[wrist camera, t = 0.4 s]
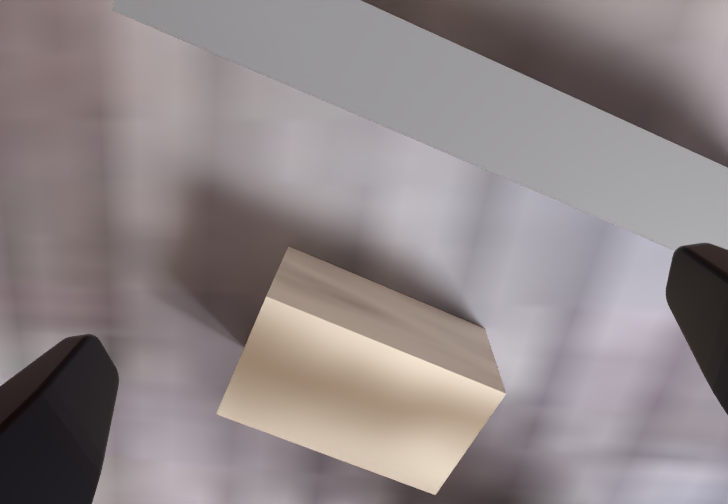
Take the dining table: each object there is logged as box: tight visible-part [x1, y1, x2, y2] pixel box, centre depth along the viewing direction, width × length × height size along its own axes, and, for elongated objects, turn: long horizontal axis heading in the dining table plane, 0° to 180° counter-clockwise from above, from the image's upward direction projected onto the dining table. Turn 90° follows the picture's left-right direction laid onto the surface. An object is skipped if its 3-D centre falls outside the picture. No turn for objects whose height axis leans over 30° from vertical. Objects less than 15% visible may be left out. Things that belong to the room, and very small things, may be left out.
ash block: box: [216, 246, 506, 495], centre depth 23 cm, size 6×10×5 cm, turn 66°
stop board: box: [113, 0, 728, 250], centre depth 18 cm, size 3×24×5 cm, turn 68°
